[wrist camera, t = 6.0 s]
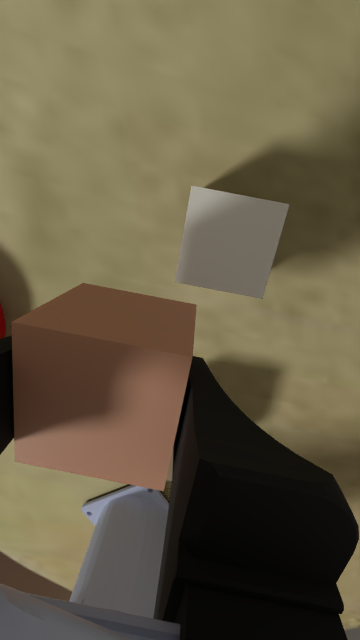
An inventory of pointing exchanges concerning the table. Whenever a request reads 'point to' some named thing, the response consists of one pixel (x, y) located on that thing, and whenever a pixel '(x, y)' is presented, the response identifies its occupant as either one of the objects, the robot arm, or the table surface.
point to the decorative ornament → (2, 323)
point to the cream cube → (229, 241)
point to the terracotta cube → (101, 383)
